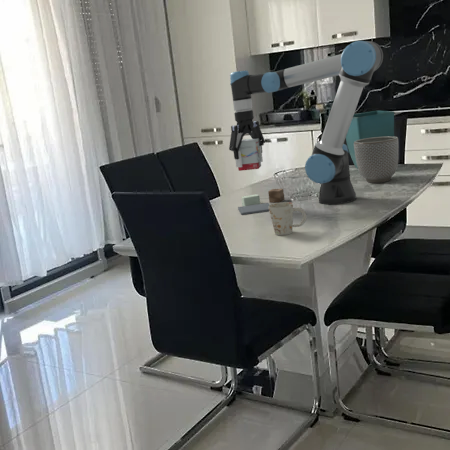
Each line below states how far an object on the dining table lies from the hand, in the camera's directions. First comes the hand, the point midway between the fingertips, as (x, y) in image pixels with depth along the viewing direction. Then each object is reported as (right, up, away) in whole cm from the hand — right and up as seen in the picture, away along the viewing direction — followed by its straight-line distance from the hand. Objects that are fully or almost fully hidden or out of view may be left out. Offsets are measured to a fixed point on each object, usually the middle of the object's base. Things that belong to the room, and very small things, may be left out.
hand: (249, 164), depth 256 cm
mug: (+12, -27, -40) cm, 50 cm away
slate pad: (+2, -18, +4) cm, 19 cm away
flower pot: (+65, +4, +66) cm, 93 cm away
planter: (+61, -5, +32) cm, 69 cm away
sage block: (+1, -16, +15) cm, 22 cm away
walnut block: (+12, -14, +16) cm, 25 cm away
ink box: (0, -2, 0) cm, 2 cm away
